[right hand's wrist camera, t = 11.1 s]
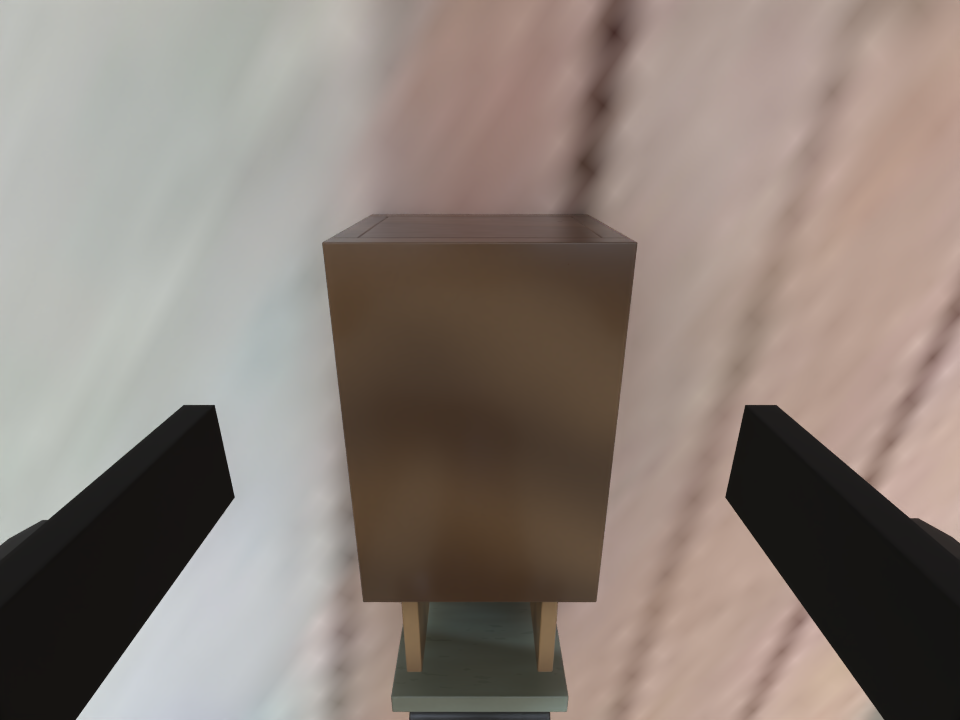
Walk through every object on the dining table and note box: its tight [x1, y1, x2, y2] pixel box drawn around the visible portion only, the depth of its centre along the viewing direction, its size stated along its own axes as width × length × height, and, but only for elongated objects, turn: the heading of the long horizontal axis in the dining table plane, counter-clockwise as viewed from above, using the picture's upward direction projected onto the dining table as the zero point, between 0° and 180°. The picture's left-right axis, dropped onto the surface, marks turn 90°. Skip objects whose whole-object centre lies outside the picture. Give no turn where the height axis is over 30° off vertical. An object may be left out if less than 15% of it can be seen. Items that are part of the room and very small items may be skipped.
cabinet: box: [322, 215, 637, 602], centre depth 24 cm, size 16×10×8 cm, turn 0°
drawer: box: [391, 602, 568, 720], centre depth 29 cm, size 20×9×6 cm, turn 0°
